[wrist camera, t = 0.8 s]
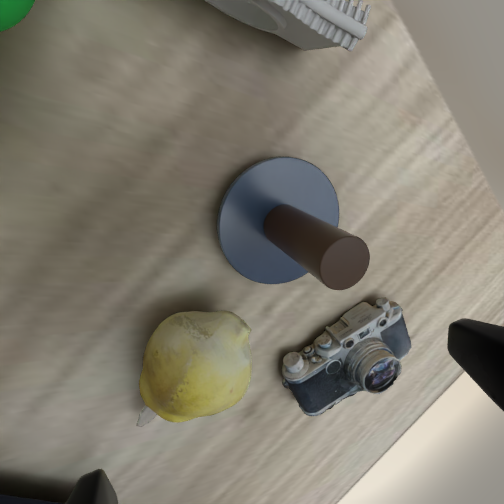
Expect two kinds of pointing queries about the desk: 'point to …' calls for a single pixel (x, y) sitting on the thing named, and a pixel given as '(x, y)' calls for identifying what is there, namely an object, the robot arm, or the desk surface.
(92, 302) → the desk surface
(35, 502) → the speaker
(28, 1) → the molecule model
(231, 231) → the lid
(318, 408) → the camera
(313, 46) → the grey ridged-top pillar
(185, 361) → the fruit
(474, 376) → the robot arm
